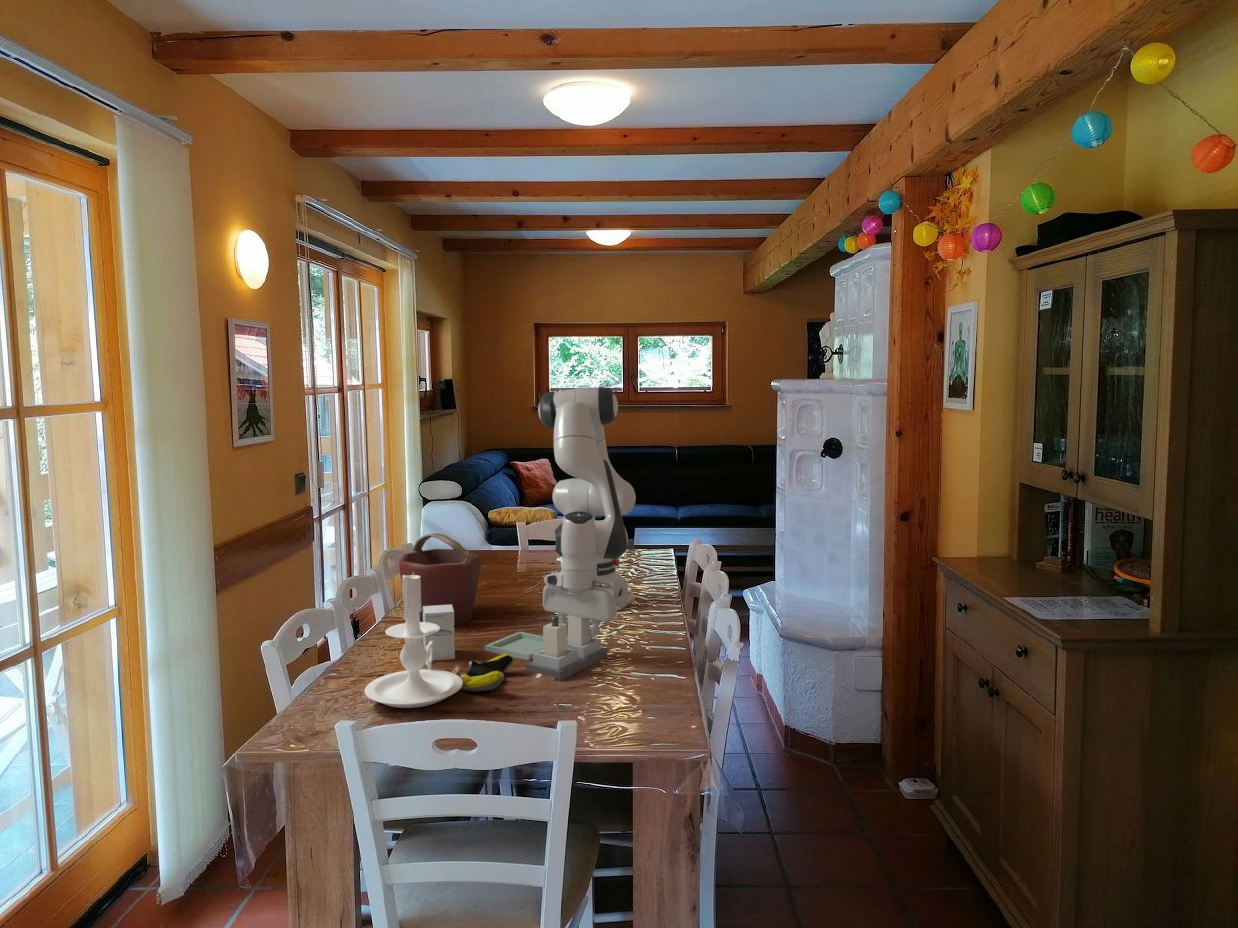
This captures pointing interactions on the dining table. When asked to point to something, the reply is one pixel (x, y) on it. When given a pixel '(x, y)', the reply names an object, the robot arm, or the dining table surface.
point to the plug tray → (517, 645)
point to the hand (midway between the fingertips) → (579, 633)
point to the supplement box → (440, 631)
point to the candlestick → (413, 660)
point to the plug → (578, 631)
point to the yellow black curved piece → (486, 673)
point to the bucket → (444, 575)
